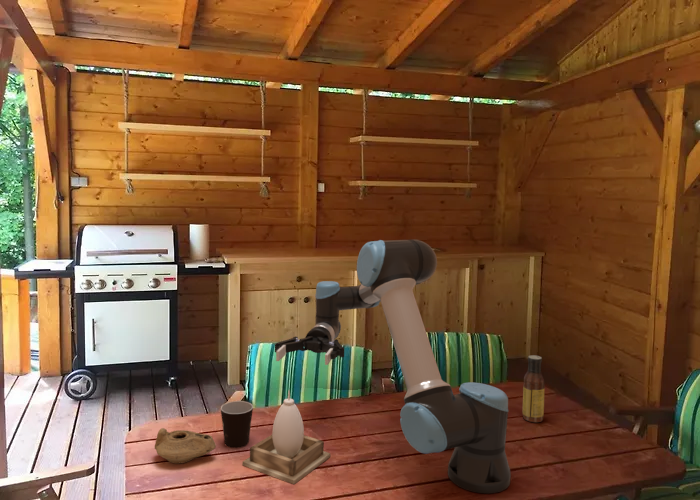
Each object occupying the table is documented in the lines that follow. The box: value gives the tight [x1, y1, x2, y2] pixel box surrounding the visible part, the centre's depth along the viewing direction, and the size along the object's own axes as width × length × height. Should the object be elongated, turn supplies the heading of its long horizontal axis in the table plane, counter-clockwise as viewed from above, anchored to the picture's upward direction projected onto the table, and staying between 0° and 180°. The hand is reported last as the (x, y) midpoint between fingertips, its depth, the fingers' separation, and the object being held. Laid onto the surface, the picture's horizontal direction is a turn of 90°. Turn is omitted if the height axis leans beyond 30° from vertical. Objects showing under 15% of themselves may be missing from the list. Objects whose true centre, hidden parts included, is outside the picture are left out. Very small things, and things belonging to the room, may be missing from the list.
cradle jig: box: [242, 434, 331, 485], centre depth 147 cm, size 16×16×4 cm
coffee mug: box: [220, 400, 254, 449], centre depth 157 cm, size 12×9×10 cm
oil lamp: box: [154, 427, 217, 464], centre depth 147 cm, size 11×15×8 cm
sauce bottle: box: [521, 354, 545, 424], centre depth 176 cm, size 7×6×20 cm
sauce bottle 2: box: [271, 390, 305, 458], centre depth 146 cm, size 8×8×18 cm
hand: (301, 358), depth 155 cm, fingers open, 13 cm apart
